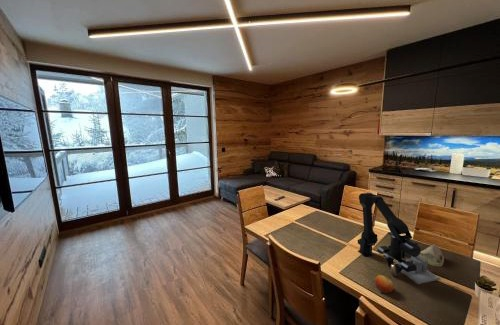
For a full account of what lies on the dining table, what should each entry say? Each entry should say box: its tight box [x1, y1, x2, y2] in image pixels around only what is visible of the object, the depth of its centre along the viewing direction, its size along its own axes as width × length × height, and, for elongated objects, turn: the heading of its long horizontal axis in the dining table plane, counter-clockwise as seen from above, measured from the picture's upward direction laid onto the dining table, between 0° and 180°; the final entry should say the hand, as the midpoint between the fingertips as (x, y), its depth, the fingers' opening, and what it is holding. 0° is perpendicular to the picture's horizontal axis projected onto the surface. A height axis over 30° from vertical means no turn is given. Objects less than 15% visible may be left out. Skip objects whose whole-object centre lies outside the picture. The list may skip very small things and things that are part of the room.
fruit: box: [374, 274, 395, 294], centre depth 103 cm, size 8×8×8 cm
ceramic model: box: [418, 244, 445, 267], centre depth 125 cm, size 14×11×10 cm
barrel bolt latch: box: [394, 255, 441, 285], centre depth 115 cm, size 14×16×8 cm
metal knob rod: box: [389, 262, 416, 277], centre depth 114 cm, size 18×4×5 cm, turn 103°
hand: (394, 272), depth 113 cm, fingers closed on metal knob rod, 3 cm apart
